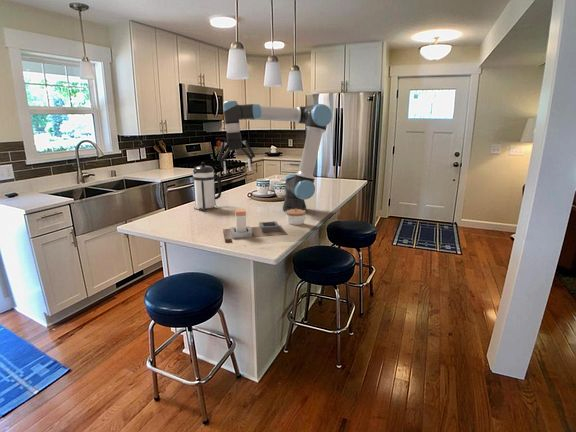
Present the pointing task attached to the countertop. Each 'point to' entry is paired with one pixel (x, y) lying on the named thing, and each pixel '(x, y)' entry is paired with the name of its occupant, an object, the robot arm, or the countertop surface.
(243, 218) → the plug
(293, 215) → the lidded jar
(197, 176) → the coffee press
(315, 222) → the countertop surface
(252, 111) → the robot arm
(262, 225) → the frame
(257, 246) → the countertop surface
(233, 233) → the port
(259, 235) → the walnut board
